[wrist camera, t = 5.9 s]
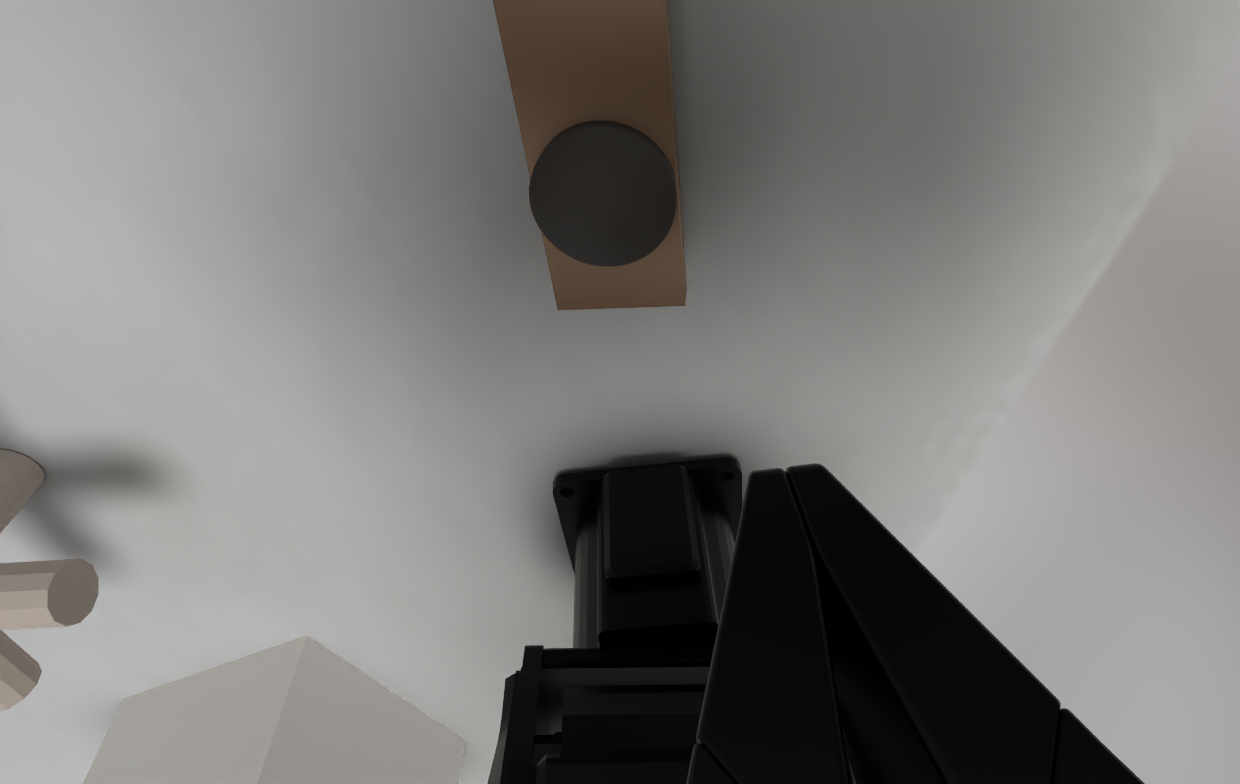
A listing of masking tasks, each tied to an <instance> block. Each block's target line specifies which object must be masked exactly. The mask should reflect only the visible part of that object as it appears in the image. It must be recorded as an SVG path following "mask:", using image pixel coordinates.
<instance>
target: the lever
mask: <svg viewBox="0 0 1240 784" xmlns="http://www.w3.org/2000/svg"><path fill="white" fill-rule="evenodd" d="M493 2H494V7H495V12H496V17H497V21H498V26H499V31H500V36H501V40H502V45H503V50H504V55H505V60H506V64H507V69H508V74H509V79H510V83H511V88H512V93H513V98H514V103H515V107H516V112H517V117H518V122H519V126H520V131H521V136H522V141H523V146H524V150H525V155H526V160H527V165H528V169H529V174H530V187H529V198H530V205H531V209H532V212H533V216H534V218H535V220H536V223H537V225H538V226H539V228H540V230H541V231H542V236H543V241H544V246H545V251H546V255H547V260H548V265H549V270H550V274H551V279H552V284H553V289H554V294H555V298H556V303H557V308H558V310H573V309H602V308H632V307H661V306H685V301H686V289H687V287H686V271H685V256H684V241H683V226H682V211H681V196H680V181H679V165H678V150H677V135H676V120H675V105H674V90H673V74H672V59H671V44H670V29H669V14H668V0H493Z"/></svg>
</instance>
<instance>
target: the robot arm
mask: <svg viewBox="0 0 1240 784" xmlns="http://www.w3.org/2000/svg"><path fill="white" fill-rule="evenodd" d="M724 471H729V472H726V473H724ZM565 487H570V488H569V489H567V488H565ZM553 496H554V500H555V503H556V507H557V511H558V514H559V518H560V522H561V526H562V529H563V533H564V537H565V540H566V544H567V548H568V552H569V555H570V559H571V563H572V566H573V570H574V574H575V591H574V630H573V648H549V649H544V646H543V645H531V646H525V651H524V658H523V666H522V668H521V671H516V673H515V674H513V675H511V676H510V677H508V678H506V681H505V690H504V700H503V710H502V719H501V726H500V733H499V738H498V743H497V747H496V751H495V755H494V760H493V764H492V768H491V772H490V776H489V780H488V784H1144V783H1143V782H1142V781H1141V780H1140V779H1139V778H1138V777H1137V776H1136V775H1135V774H1134V773H1133V772H1132V771H1131V770H1130V769H1129V768H1128V767H1127V766H1126V765H1124V764H1123V763H1122V762H1121V761H1120V760H1119V759H1118V758H1117V757H1116V756H1115V755H1114V754H1113V753H1112V752H1111V751H1110V750H1109V749H1108V748H1107V747H1106V746H1105V745H1103V744H1102V743H1101V742H1100V741H1099V740H1098V739H1097V738H1096V736H1095V735H1093V734H1092V732H1090V730H1089V729H1088V728H1086V726H1085V725H1083V724H1082V722H1081V721H1080V720H1078V718H1077V717H1075V715H1074V714H1073V713H1071V711H1069V710H1068V709H1066V708H1063V709H1061V710H1060V706H1061V705H1060V702H1059V700H1058V699H1057V698H1056V697H1055V696H1054V695H1053V694H1052V693H1051V692H1050V691H1049V690H1048V689H1047V688H1046V687H1045V686H1044V685H1043V684H1042V683H1041V682H1040V681H1039V680H1038V679H1037V678H1036V677H1035V676H1034V675H1033V674H1032V673H1031V672H1030V671H1029V670H1028V669H1027V668H1026V667H1025V666H1024V665H1023V664H1022V663H1021V662H1020V661H1019V660H1018V659H1017V658H1016V657H1015V656H1014V655H1013V654H1012V653H1011V652H1010V651H1009V650H1008V649H1007V648H1006V647H1005V646H1004V645H1003V644H1002V643H1001V642H1000V641H999V640H998V639H997V638H996V637H995V636H994V635H993V634H992V633H991V632H990V631H989V630H988V629H987V628H986V627H985V626H984V625H982V623H981V622H980V621H979V620H978V619H977V618H976V617H974V615H973V614H972V613H971V612H970V611H969V610H968V609H967V608H965V606H964V605H963V604H962V603H960V602H959V600H958V599H957V598H956V597H955V596H954V595H952V593H951V592H950V591H948V589H946V587H945V586H944V585H943V584H942V583H941V582H940V581H938V580H937V578H936V577H934V575H933V574H932V573H930V571H929V570H928V569H927V568H926V567H925V566H923V565H922V563H920V562H919V561H918V560H917V559H916V558H915V557H914V556H913V555H912V554H911V553H910V552H909V551H908V550H907V549H906V548H905V547H904V546H903V545H902V544H901V543H900V542H899V541H898V540H897V539H896V538H895V537H894V536H893V535H892V534H891V533H890V532H889V531H888V530H887V529H886V528H885V527H884V526H883V525H882V524H881V523H880V522H879V521H878V520H877V519H876V518H875V517H874V516H873V515H872V514H871V513H870V512H869V511H868V510H867V509H866V508H865V507H864V506H863V505H862V504H861V503H860V502H859V501H858V500H857V499H856V498H855V497H854V496H853V495H852V494H851V493H850V492H849V491H848V490H847V489H846V488H845V487H844V486H843V485H842V484H841V483H840V482H839V481H838V480H837V479H836V478H835V477H834V476H833V475H832V474H831V473H830V472H829V471H828V470H827V469H826V468H825V467H824V466H822V465H820V464H807V465H798V466H791V467H789V468H787V469H786V471H784V470H783V469H781V468H774V469H766V470H758V471H753V472H751V473H750V475H749V477H748V482H747V487H746V492H745V497H744V502H743V507H742V473H741V469H740V465H739V462H738V461H737V460H736V459H733V458H730V457H723V458H714V459H704V460H694V461H685V462H675V463H665V464H656V465H646V466H636V467H627V468H617V469H607V470H598V471H588V472H578V473H568V474H563V475H559V476H558V477H556V478H555V480H554V482H553Z"/></svg>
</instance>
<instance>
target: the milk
mask: <svg viewBox="0 0 1240 784" xmlns="http://www.w3.org/2000/svg"><path fill="white" fill-rule="evenodd" d="M465 745H466V741H465V740H464V739H462V738H461V737H459V736H457V735H456V734H454V733H453V732H451V731H450V730H448V729H447V728H445V727H444V726H442V725H441V724H439V723H438V722H436V721H435V720H433V719H432V718H430V717H429V716H427V715H426V714H424V713H423V712H421V711H420V710H418V709H417V708H415V707H414V706H412V705H411V704H409V703H408V702H406V701H405V700H403V699H402V698H400V697H399V696H397V695H396V694H394V693H393V692H391V691H390V690H388V689H387V688H385V687H384V686H382V685H381V684H379V683H378V682H376V681H375V680H373V679H372V678H370V677H369V676H367V675H366V674H364V673H363V672H361V671H360V670H358V669H357V668H355V667H354V666H352V665H351V664H349V663H348V662H346V661H345V660H343V659H342V658H340V657H339V656H337V655H336V654H334V653H333V652H331V651H330V650H328V649H327V648H325V647H324V646H322V645H321V644H319V643H318V642H316V641H315V640H313V639H312V638H310V637H309V636H304V637H301V638H298V639H295V640H292V641H290V642H287V643H284V644H281V645H278V646H275V647H272V648H269V649H266V650H264V651H261V652H258V653H255V654H252V655H249V656H246V657H243V658H240V659H238V660H235V661H232V662H229V663H226V664H223V665H220V666H217V667H215V668H212V669H209V670H206V671H203V672H200V673H197V674H194V675H191V676H189V677H186V678H183V679H180V680H177V681H174V682H171V683H168V684H166V685H163V686H160V687H157V688H154V689H151V690H148V691H145V692H142V693H140V694H137V695H134V696H131V697H128V698H125V699H123V700H122V702H121V704H120V706H119V708H118V710H117V712H116V715H115V717H114V719H113V721H112V723H111V725H110V727H109V729H108V732H107V734H106V736H105V738H104V740H103V742H102V744H101V746H100V749H99V751H98V753H97V755H96V757H95V759H94V761H93V763H92V766H91V768H90V770H89V772H88V774H87V776H86V778H85V780H84V783H83V784H458V781H459V776H460V771H461V766H462V760H463V755H464V750H465Z"/></svg>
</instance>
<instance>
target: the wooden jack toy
mask: <svg viewBox="0 0 1240 784" xmlns="http://www.w3.org/2000/svg"><path fill="white" fill-rule="evenodd" d="M44 478H45V475H44V472H43V470H42V469H41V467H40V466H39V465H38V464H37V463H36V462H34V461H33V460H31V459H30V458H28V457H26V456H24V455H22V454H20V453H17V452H14V451H9V450H1V449H0V533H1V532H2V531H3V530H4V528H5V527H6V526H7V525H8V523H9V522H10V521H11V520H12V519H13V517H14V516H15V515H16V514H17V513H18V511H19V510H20V509H21V508H22V507H23V505H24V504H25V503H26V502H27V501H28V499H29V498H30V497H31V496H32V494H33V493H34V492H35V491H36V490H37V488H38V487H39V486H40V485H41V484H42V482H43V481H44ZM97 596H98V576H97V574H96V572H95V570H94V568H93V565H91V564H90V563H88V562H86V561H84V560H82V559H69V560H51V561H34V562H17V563H0V711H3V710H6V709H9V708H10V707H12V706H13V705H15V704H16V703H18V702H20V701H21V700H23V699H24V698H25V697H26V696H27V695H28V694H29V693H30V692H31V691H32V689H33V688H34V687H35V686H36V685H37V683H38V680H39V678H40V675H41V672H42V671H41V668H40V666H39V664H38V662H37V661H36V660H34V659H33V658H32V657H31V656H30V655H29V654H28V653H26V652H25V651H24V650H23V649H22V648H21V647H20V646H18V645H17V644H16V643H15V642H14V641H13V640H12V639H10V638H9V637H8V636H7V635H6V634H5V633H4V632H2V631H1V630H13V629H31V628H49V627H67V626H70V625H73V624H77V623H80V622H81V621H82V620H83V619H84V618H85V617H86V616H87V615H88V614H89V613H90V612H91V611H92V609H93V606H94V604H95V601H96V599H97Z"/></svg>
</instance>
